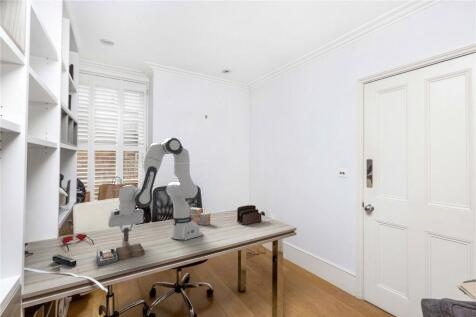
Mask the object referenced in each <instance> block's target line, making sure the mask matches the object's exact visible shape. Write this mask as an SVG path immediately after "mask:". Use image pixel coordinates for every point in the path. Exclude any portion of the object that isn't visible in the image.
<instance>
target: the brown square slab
mask: <svg viewBox="0 0 476 317" xmlns="http://www.w3.org/2000/svg"><path fill="white" fill-rule="evenodd" d="M115 250H116V253H117V255H118V261H123V260H128V259H132V258H137V257H141V256H144V255H145V249H144V247H143V245H142V244H141V243H140V242H139V243H134V244H130V245H128V246H124V245H123V246H119V247H115Z"/></svg>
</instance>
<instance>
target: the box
mask: <svg viewBox="0 0 476 317" xmlns="http://www.w3.org/2000/svg"><path fill="white" fill-rule="evenodd" d="M105 250H111V253H112V255H113V256H112V258H109V259H104V260H103V257H102V251H105ZM96 260H97V266H98V267H100V266H105V265H111V264H114V263H118V262H119V260H118V255H117V253H116V247H114V248H113V247H112V248H107V249H103V250H100V249H99V246H97V247H96Z"/></svg>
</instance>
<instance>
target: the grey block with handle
mask: <svg viewBox="0 0 476 317" xmlns="http://www.w3.org/2000/svg"><path fill="white" fill-rule="evenodd" d="M129 228H130V227H129V226H126V227H123V229H124V233H123V237H122V244H123V246H128V245H131V243H130V241H129V238H130V237H129V235H130V234H129V233H130V232H129Z"/></svg>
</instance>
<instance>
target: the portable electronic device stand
mask: <svg viewBox="0 0 476 317" xmlns="http://www.w3.org/2000/svg"><path fill="white" fill-rule="evenodd" d="M51 260H52V262H54V263H56V264H57V263H58V264H61V265H64V266H68V267H70V268H73V267H76V266H77V259H75V258H71V257H69V256H65V255H62V254H55V255H52V258H51Z"/></svg>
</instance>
